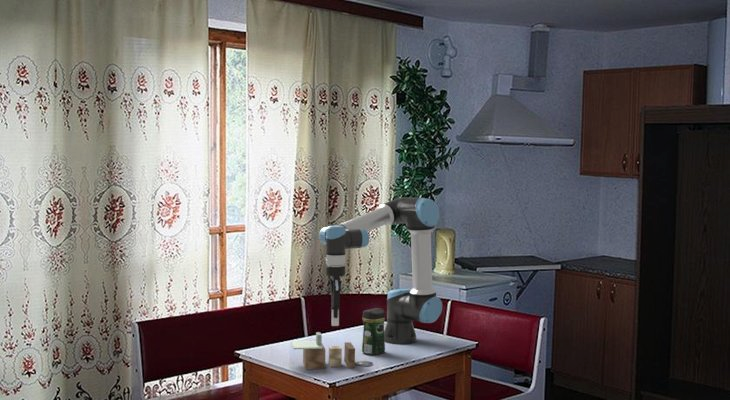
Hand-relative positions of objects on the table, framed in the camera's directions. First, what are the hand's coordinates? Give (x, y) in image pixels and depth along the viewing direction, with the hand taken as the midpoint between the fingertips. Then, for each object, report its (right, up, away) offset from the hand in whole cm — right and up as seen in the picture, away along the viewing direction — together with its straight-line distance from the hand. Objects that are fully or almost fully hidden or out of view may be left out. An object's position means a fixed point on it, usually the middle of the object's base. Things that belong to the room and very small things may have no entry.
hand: (335, 325), depth 308 cm
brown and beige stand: (-3, -16, 0) cm, 16 cm away
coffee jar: (+15, -15, +21) cm, 30 cm away
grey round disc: (+11, -16, +2) cm, 19 cm away
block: (0, -16, 0) cm, 16 cm away
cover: (-11, -8, -2) cm, 13 cm away
